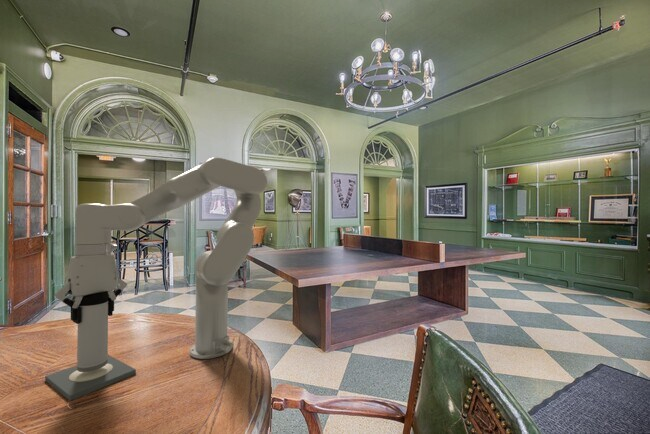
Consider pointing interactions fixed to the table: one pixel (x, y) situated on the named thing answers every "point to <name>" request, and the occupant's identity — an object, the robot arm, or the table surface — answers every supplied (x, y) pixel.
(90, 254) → the robot arm
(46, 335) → the table surface
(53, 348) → the table surface
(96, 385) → the mat
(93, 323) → the travel mug
